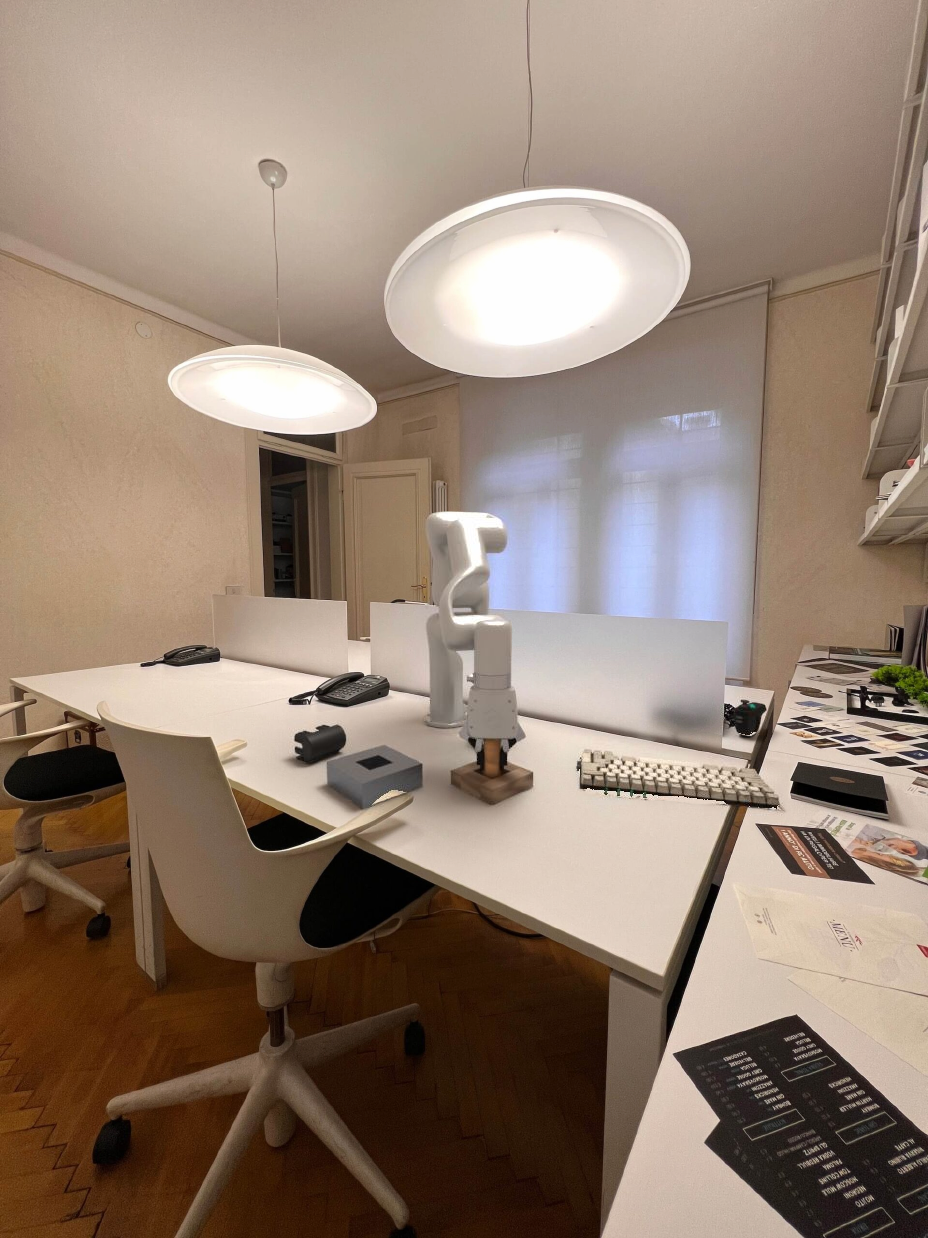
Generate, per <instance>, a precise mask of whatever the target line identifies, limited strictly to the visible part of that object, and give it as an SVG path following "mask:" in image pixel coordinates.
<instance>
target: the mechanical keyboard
mask: <svg viewBox="0 0 928 1238" xmlns="http://www.w3.org/2000/svg"><path fill="white" fill-rule="evenodd" d="M580 759H581V761H580ZM636 762H637V763H636ZM575 767H576V768H575V770H576V769H577V770H576V772H577V771H579V769H580V777H579V790H580V789H587V788H590V789H592V790H593V789H594V790H604V791H605V792H604V794H605V795H607V794H608V793H607V791H616V792H617V796H620V791H624V792H630V796H631V797H632V796H633V793H634V794H643V793H644V794H643V798H647V797H646V794H652V795H653V796H654V795H658V796H678V797H679V796H684V797H687V798H688V797H689V798H697V799H703V800H704V799H705V800H707V799H708V800H716V801H724V802H725V803H726V804H728V805H727V806H736V807H744V808H753V809H755V808H756V809H762V808H772V807H774V808H776V809H777V806H778V805H779V806H780V805H781V804H780V799H779V795H778V794H776V793H775V791H774V790H773V788H770V786H769V785H768V783H767V784H766V782H765V781H764V779H762V777H761V775H760V774H759V773H758V772H757V771H756V769H755V768H746V767H740V769H739V771H738V768H737V767H735V766H725V765H722V766H721V767H719V766H718V765H717V764H715V765H714V764H707V763H706V764H705V763H704V764H703V765H702V766H701V763H699V762H690V761H680V760H671V759H669V760H668V759H660V758H650V757H639V758H638V760H637V758H636V757H635V756H625V755H622V756H621V758H619V755H617V754H616V755H615V754H614V755H613V751H609V750H608V751H607V750H605V751H604V752H603V753H602V751H601V750H597V749H596V750H593V752H592V750H591V749H586V748H584V750H583V751H582V756H580V757H579V760H577V761H576V766H575ZM749 806H750V807H749ZM758 807H759V808H758Z"/></svg>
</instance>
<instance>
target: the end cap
mask: <svg viewBox="0 0 928 1238" xmlns="http://www.w3.org/2000/svg"><path fill="white" fill-rule="evenodd" d="M315 730H316V731H314V732H313V731H308V730H302V731H298V732H297V733H294V736H293V737H294V739H293V740H294V742H295V743H297V744H301V747H299V746H294V752H295V754H297V755H296V757H295V758H296V760H297V761H299V762H301V761H302V763H303V764H309V763H311V762H312V763H313V762H314V761H317V760H321V759H322V758H325V757H328V756H331V755H334V754H336V753H338V752H340V751H341V750H342V749H344V747H346V743H347V735H346V734H347V733H346V732H345V730H344V727H342V726H341V725H340V724H338V723H337V724H335V725H332V726H331V725H327V724H321V725H318V726H315Z"/></svg>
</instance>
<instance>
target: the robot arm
mask: <svg viewBox="0 0 928 1238" xmlns="http://www.w3.org/2000/svg"><path fill="white" fill-rule="evenodd" d="M425 536H426V541H427V543H428V547H429V549H430V553H431V558H432V567H431V568H432V569H431V570H432V572H431V577H432V578H431V596H432V602H433V603H434V605H435V606H436V607H438V612H436V613H433V614H430V616H429V617H428V618H427V620H426V623H425V631H426V637H427V638H426V639H427V644H428V654H429V655H428V656H429V661H428V662H429V713H428V714H427V715H425V716H424V723H425V724H426V725H428V726H431V727H434V728H445V729H446V728H447V729H449V728H457V727H461V726H462V728H461V729H460V730H459V732H458V737H459V738H460V739H462V740H464V741H466V742H468V743H469V745H471V747H472V748H473V749H474V751H475V752H476V761H477V765H480V771H482V770H483V768H484V751H483V739H502V746H501V758H500V771H504V766H507V762H508V755H509V754H508V753H509V751H510V750H511V749H512V748H513V747H514V746H515V745H516V744H517V743H518V742H521V741H522V740H524V739H526V733H525V731H524V729H523V727H522V726H521V724H520V723H519V721H518V720H519V718H518V717H519V716H518V700H517V693H516V688H515V687H514V686H512V645H513V644H512V643H513V641H512V639H513V637H512V635H513V631H512V630H513V629H512V625H511V623H510V621H508V620H505V619H504V618H503V617H502V616H500V615H496V614H489V612H490V587H489V582H488V580H489V579H490V576H491V570H490V566H489V560H488V555H487V554H500V553H502V552H504V551H505V549H506V548H507V545H508V531H507V527H506V525H505V523H504V522H503V521H502V520H501V518H499V517H497V516H495V515H492V514H490V513H487V512H479V511H478V512H473V511H470V512H469V511H438V512H432V513H431V514H429V516H428V517H427V518H426V521H425ZM468 608H469V609H470V611H454V609H468ZM462 651H463V652H465V651H466V652H468V651H473V672H472V674H467V675H466V682H468V683H469V682H470V683H472V686H470V689H469V693H468V697H467V698H468V699H467V704H466V703H465V702H464V677H463V676H464V662H463V658H462V657H461V655H460V654H459V653H458V652H462ZM466 713H467V714H466Z"/></svg>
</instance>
